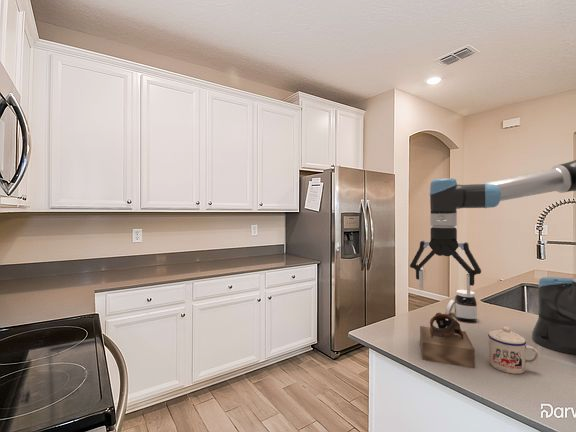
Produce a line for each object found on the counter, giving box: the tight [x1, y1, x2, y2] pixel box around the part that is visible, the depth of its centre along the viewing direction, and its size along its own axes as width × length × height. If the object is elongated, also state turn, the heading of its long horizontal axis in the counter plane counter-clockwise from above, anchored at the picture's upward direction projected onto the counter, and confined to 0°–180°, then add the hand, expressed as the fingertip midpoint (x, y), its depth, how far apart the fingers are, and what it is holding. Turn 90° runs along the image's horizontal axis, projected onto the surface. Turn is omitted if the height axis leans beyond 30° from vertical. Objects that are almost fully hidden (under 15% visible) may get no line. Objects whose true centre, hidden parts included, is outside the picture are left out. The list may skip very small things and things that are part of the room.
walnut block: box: [419, 325, 476, 369], centre depth 96 cm, size 14×14×6 cm
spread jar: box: [444, 289, 478, 323], centre depth 128 cm, size 12×11×12 cm
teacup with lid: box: [487, 326, 540, 375], centre depth 87 cm, size 12×9×12 cm
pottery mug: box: [429, 312, 463, 339], centre depth 96 cm, size 12×10×8 cm
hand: (444, 292), depth 95 cm, fingers open, 13 cm apart
